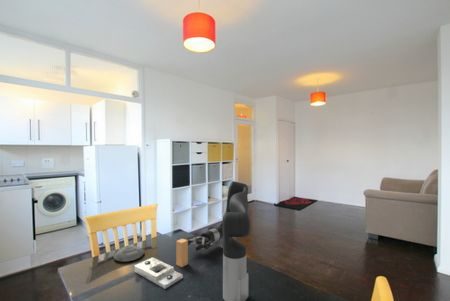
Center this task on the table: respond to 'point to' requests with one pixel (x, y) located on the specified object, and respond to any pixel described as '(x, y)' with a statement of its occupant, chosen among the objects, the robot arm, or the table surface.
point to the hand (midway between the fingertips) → (190, 246)
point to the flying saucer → (129, 253)
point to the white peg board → (161, 278)
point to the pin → (182, 252)
